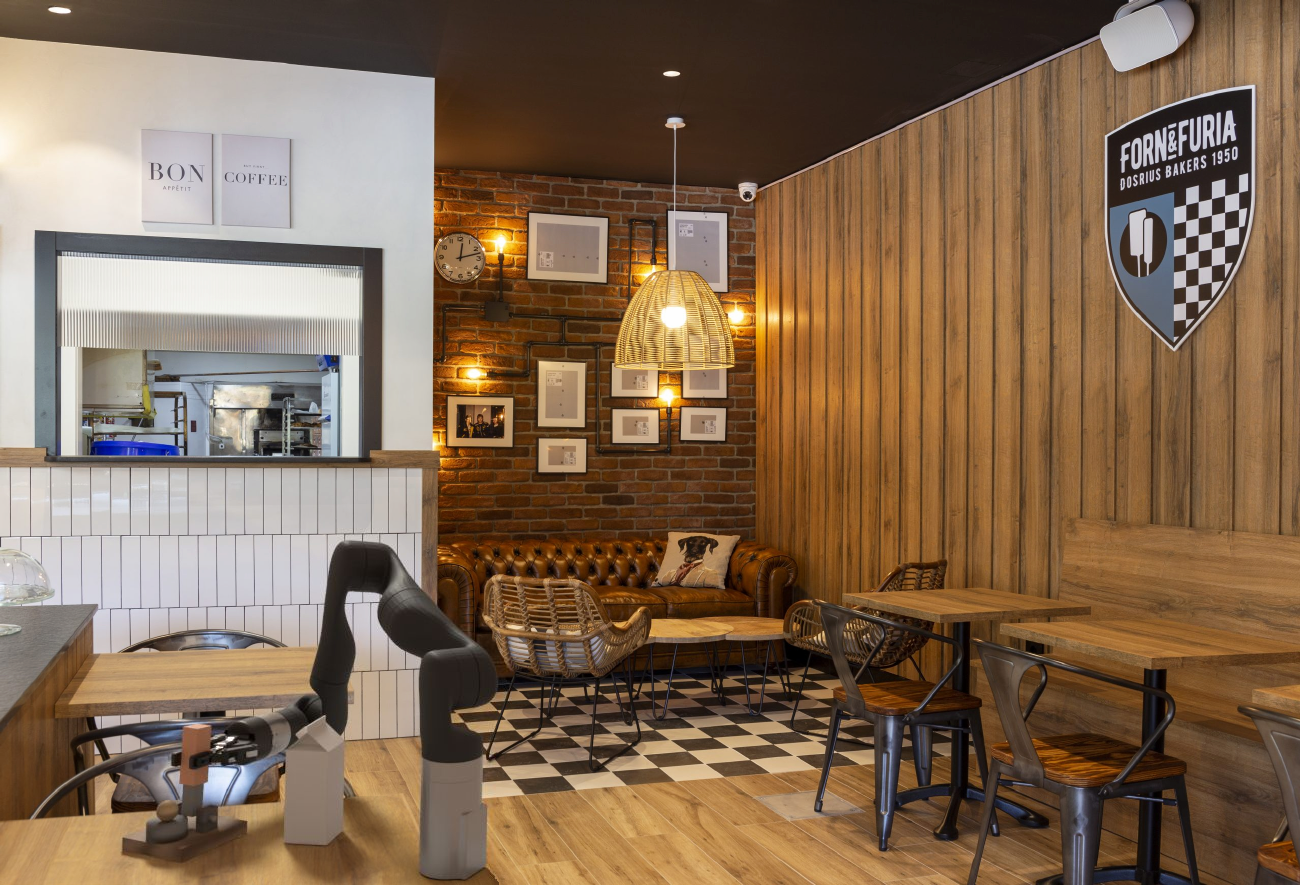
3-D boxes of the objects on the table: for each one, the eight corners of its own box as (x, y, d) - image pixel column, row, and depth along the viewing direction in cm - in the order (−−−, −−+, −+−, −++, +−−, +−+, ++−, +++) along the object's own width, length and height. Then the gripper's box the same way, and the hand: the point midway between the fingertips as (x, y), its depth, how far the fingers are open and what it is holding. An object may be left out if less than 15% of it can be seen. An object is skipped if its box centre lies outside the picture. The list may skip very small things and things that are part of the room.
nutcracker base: (247, 833, 178) (248, 786, 179) (181, 862, 166) (182, 811, 166) (190, 822, 183) (191, 776, 183) (122, 850, 170) (123, 800, 170)
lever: (205, 813, 176) (211, 725, 177) (191, 818, 173) (197, 729, 174) (191, 811, 177) (197, 723, 178) (177, 815, 174) (183, 726, 175)
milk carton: (343, 831, 180) (345, 716, 181) (326, 846, 173) (329, 727, 173) (301, 829, 181) (304, 714, 181) (283, 844, 174) (286, 725, 174)
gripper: (226, 711, 192) (148, 733, 176) (291, 720, 187) (217, 743, 171) (224, 754, 192) (146, 780, 175) (289, 764, 187) (215, 791, 170)
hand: (182, 761), depth 173 cm, fingers closed on lever, 3 cm apart
